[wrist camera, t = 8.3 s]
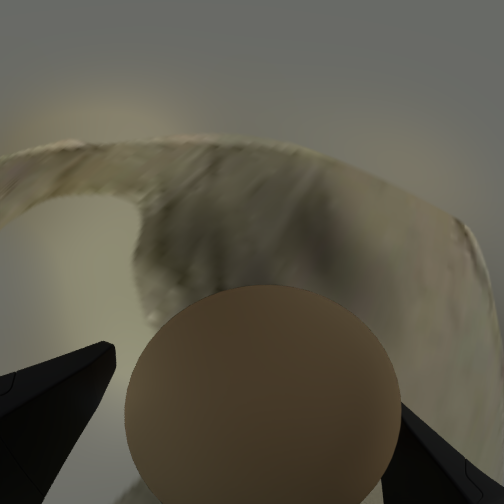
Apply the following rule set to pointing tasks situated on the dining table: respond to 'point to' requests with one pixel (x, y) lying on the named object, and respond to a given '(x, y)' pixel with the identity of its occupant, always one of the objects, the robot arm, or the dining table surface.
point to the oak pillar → (263, 402)
